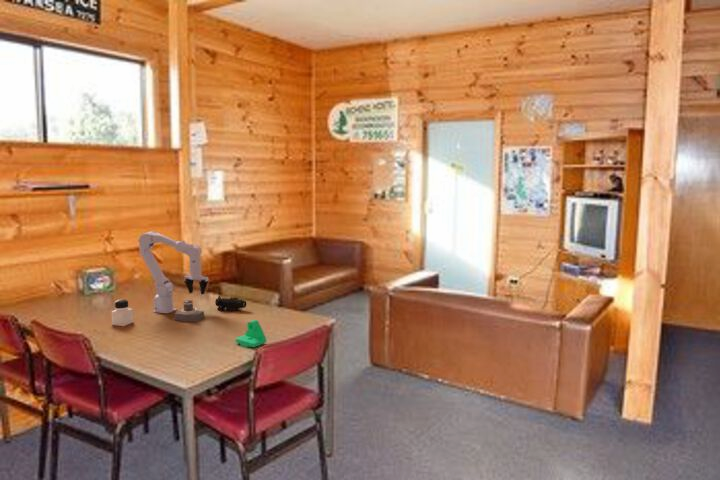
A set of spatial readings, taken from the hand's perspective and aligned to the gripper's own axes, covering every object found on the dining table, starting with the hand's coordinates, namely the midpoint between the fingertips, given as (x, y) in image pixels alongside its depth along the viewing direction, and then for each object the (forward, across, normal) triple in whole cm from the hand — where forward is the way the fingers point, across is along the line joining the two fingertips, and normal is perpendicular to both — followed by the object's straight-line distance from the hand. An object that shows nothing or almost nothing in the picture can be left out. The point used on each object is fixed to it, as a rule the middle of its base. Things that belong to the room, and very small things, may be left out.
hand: (196, 293), depth 279 cm
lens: (+6, +5, -14) cm, 16 cm away
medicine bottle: (+10, -22, -31) cm, 39 cm away
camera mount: (+10, +54, -36) cm, 66 cm away
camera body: (+10, +5, -13) cm, 17 cm away
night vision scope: (+10, +16, +8) cm, 20 cm away
